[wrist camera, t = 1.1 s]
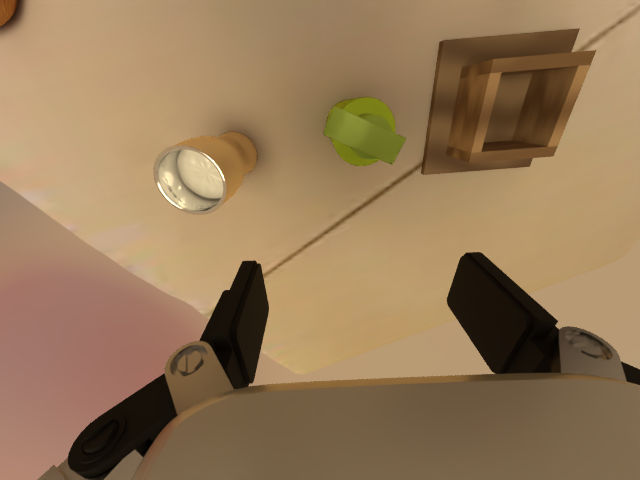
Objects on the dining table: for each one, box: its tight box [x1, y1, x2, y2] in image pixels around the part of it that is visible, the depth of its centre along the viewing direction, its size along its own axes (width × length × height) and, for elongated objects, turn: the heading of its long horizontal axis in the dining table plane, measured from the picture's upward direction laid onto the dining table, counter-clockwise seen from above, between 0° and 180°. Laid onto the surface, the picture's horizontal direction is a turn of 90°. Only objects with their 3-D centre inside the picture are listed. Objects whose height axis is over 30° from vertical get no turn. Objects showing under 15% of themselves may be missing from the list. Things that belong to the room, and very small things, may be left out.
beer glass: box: [154, 132, 257, 215], centre depth 28 cm, size 7×7×15 cm
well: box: [421, 29, 596, 175], centre depth 30 cm, size 16×16×7 cm
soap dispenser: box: [323, 97, 406, 166], centre depth 24 cm, size 6×7×20 cm
